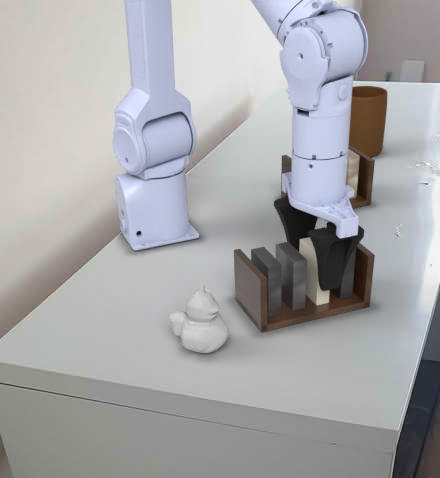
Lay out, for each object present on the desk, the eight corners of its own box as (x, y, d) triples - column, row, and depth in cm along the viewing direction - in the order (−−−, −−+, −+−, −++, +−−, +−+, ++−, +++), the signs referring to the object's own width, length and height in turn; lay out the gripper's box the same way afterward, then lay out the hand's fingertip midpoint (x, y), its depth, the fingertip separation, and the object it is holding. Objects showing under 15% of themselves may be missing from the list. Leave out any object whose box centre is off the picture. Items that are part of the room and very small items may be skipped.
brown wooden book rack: (303, 218, 102) (305, 170, 98) (280, 199, 108) (281, 152, 103) (370, 205, 105) (375, 157, 100) (345, 186, 110) (348, 140, 106)
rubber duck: (218, 365, 75) (214, 297, 70) (162, 354, 77) (154, 287, 72) (237, 339, 79) (234, 272, 74) (182, 329, 81) (176, 263, 76)
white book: (316, 305, 82) (318, 256, 78) (298, 287, 86) (299, 239, 82) (329, 303, 82) (332, 253, 78) (310, 284, 86) (312, 236, 82)
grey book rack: (261, 332, 80) (260, 276, 75) (235, 300, 85) (233, 246, 81) (369, 306, 83) (375, 251, 78) (337, 277, 89) (341, 224, 84)
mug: (307, 157, 121) (309, 97, 115) (315, 142, 126) (317, 84, 120) (380, 160, 118) (386, 98, 112) (384, 145, 123) (390, 85, 117)
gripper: (390, 166, 69) (377, 294, 78) (323, 125, 79) (318, 242, 88) (324, 178, 67) (318, 307, 76) (264, 135, 78) (265, 253, 87)
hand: (314, 273), depth 82 cm, fingers open, 7 cm apart
